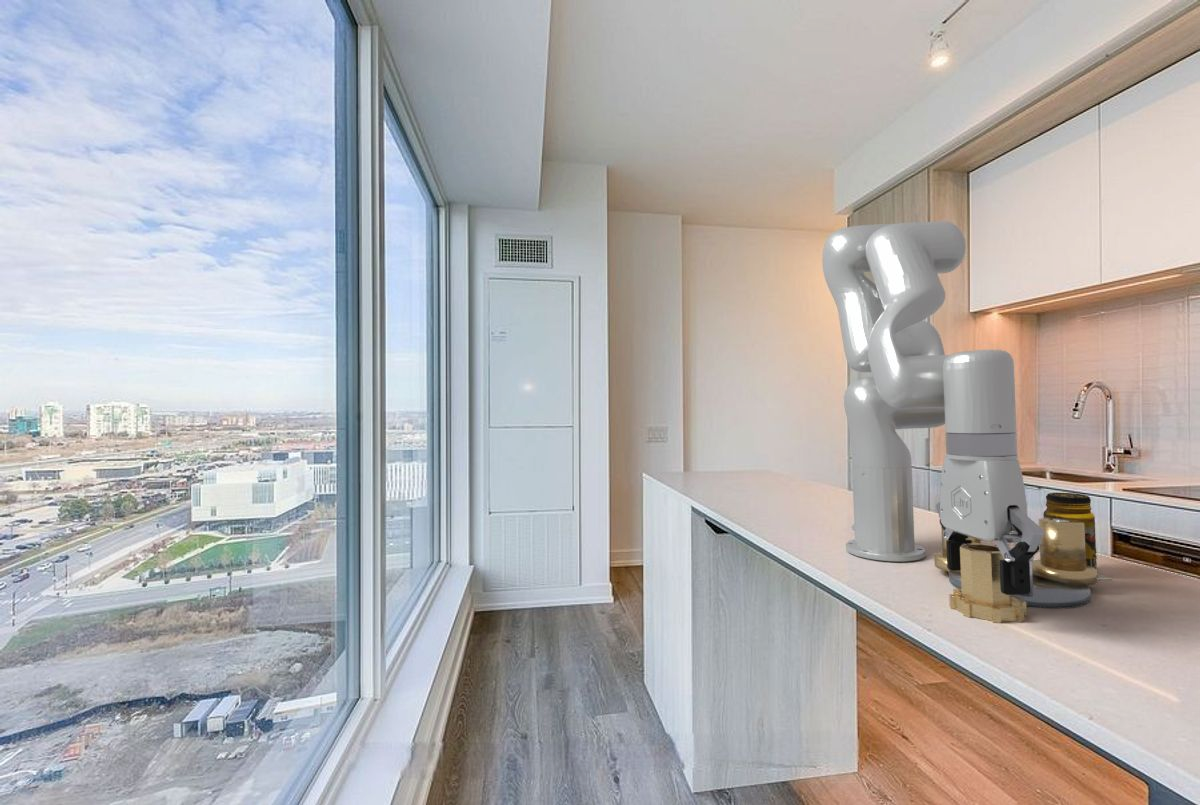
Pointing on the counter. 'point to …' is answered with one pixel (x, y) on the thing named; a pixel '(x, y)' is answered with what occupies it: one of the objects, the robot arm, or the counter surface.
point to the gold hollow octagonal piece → (984, 586)
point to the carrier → (1049, 566)
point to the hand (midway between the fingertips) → (985, 580)
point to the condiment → (1076, 510)
